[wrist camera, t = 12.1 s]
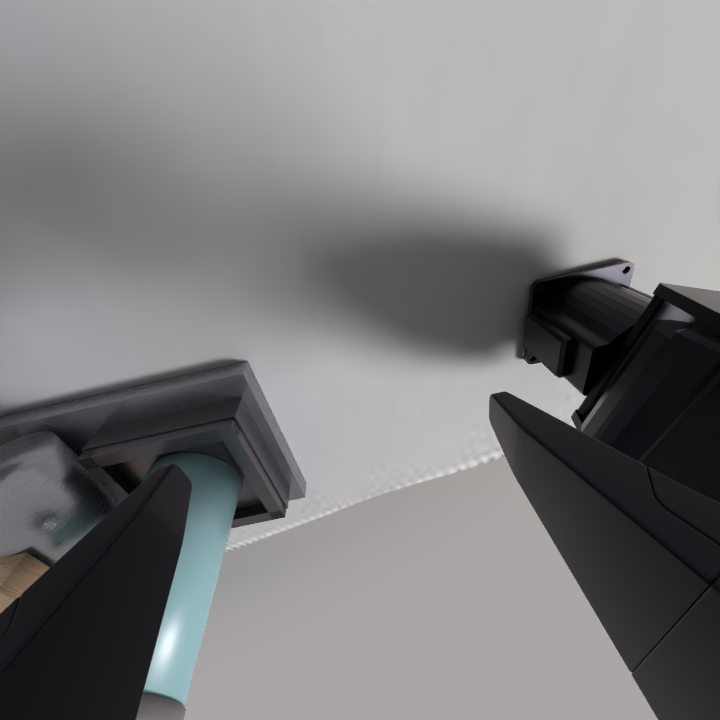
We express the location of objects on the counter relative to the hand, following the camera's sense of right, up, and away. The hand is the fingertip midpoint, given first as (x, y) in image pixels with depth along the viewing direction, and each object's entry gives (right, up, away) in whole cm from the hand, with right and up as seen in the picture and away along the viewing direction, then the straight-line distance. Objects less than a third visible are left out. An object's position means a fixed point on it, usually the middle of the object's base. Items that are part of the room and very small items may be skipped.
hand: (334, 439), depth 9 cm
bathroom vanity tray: (-15, -6, +17) cm, 24 cm away
